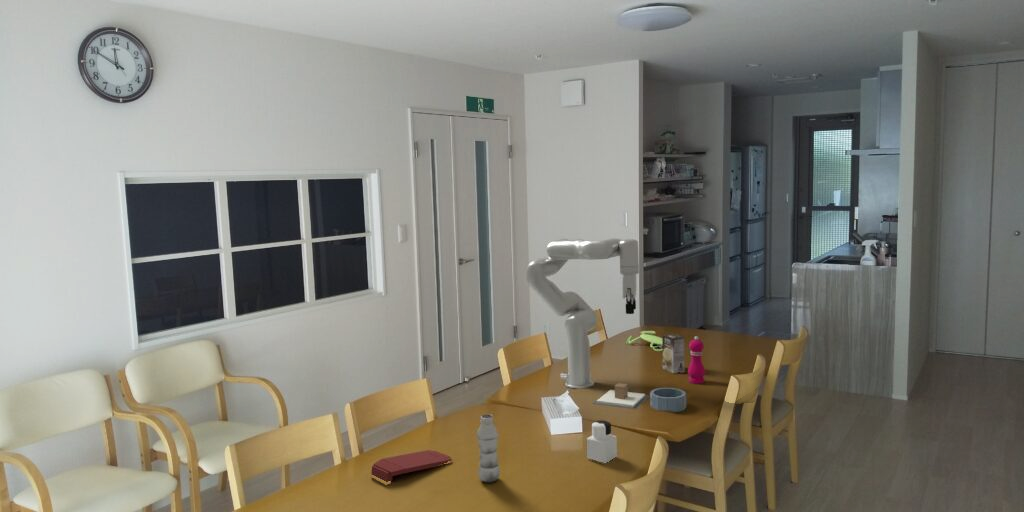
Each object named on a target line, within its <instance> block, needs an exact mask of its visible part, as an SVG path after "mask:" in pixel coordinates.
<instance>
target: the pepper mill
mask: <svg viewBox="0 0 1024 512" xmlns="http://www.w3.org/2000/svg"><path fill="white" fill-rule="evenodd" d="M704 345H705V344H704V342H703V341H702V340H700V339H699V336H697V335H696V336H694V339H692V340H690V342H689V345H688V348H689V349H690V355H691V362H690V364H689V366H688V369H687V374H688V375H689V378H688V382H689V383H690V384H692V383H694V384H695V385H700V384H701V383H702V384H704V383H705V378H704V376H705V375H706V369H705V366H704V364H703V362H702V356H703V350H704V348H705V347H704ZM702 384H701V385H702Z"/></svg>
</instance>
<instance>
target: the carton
mask: <svg viewBox="0 0 1024 512" xmlns="http://www.w3.org/2000/svg"><path fill="white" fill-rule="evenodd" d="M451 460H453V458H452V457H451V456H449V455H447V454H444V453H442V452H438V451H436V450H429V449H427V450H421V451H416V452H412V453H404V454H400V455H395V456H390V457H389V456H388V457H384V458H380V459H379V460H377V461H376V462H374V463H373V465H371V474H372V475H374V476H376V477H378V478H380V479H382V480H384V481H386V482H388V481H391V480H392V481H393V477H394V476H398V475H399V476H400V475H403V474H407V473H412V472H417V471H421V470H422V471H423V470H426V469H431V468H436V467H440V466H439V465H441V464H444V463H447V462H448V461H451ZM441 466H442V465H441ZM371 474H370V475H371Z"/></svg>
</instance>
